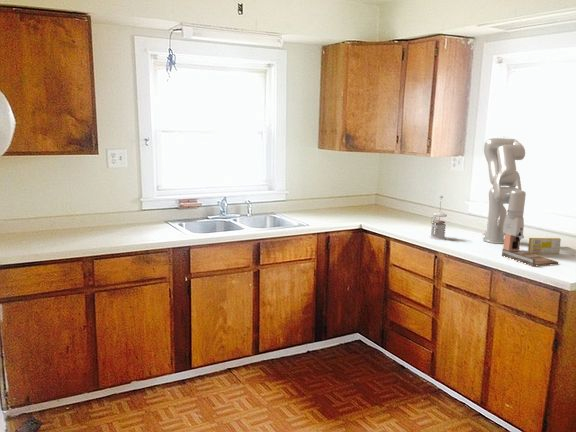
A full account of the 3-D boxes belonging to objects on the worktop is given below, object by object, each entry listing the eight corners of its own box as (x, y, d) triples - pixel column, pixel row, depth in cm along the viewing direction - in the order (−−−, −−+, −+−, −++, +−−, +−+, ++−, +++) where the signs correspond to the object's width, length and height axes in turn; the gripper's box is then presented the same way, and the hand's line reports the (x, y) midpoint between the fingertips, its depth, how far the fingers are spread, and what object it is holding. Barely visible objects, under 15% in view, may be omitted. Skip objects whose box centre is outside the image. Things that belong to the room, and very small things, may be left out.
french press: (434, 240, 288) (438, 196, 284) (424, 235, 299) (427, 193, 295) (449, 239, 291) (453, 196, 286) (438, 235, 302) (442, 193, 297)
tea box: (502, 249, 269) (504, 233, 267) (513, 249, 271) (515, 232, 269) (508, 251, 265) (510, 235, 263) (518, 251, 267) (521, 234, 266)
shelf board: (501, 255, 257) (501, 253, 257) (525, 253, 262) (526, 251, 262) (532, 266, 238) (533, 264, 238) (558, 264, 244) (558, 261, 244)
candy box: (557, 253, 267) (559, 238, 265) (559, 254, 265) (561, 238, 263) (527, 252, 266) (529, 237, 264) (529, 253, 264) (531, 238, 262)
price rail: (502, 253, 257) (502, 248, 256) (503, 253, 257) (503, 248, 257) (533, 264, 238) (533, 259, 238) (534, 263, 239) (535, 259, 238)
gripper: (498, 211, 271) (494, 244, 274) (522, 217, 255) (517, 252, 259) (509, 210, 273) (505, 243, 277) (533, 216, 258) (529, 251, 261)
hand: (511, 247), depth 268 cm, fingers closed on tea box, 4 cm apart
